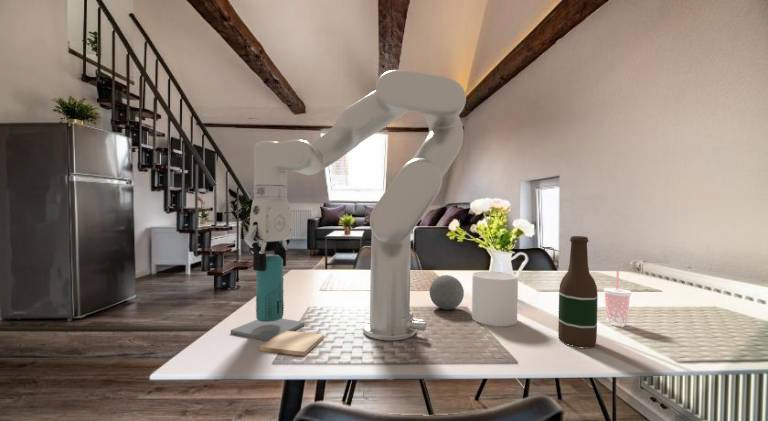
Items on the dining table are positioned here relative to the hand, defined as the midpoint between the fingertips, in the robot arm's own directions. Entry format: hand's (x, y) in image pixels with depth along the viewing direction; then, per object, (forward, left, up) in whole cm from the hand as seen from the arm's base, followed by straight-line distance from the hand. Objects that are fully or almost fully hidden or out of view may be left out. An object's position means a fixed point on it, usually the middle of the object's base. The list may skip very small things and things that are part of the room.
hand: (270, 267), depth 86 cm
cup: (-49, -32, -15) cm, 60 cm away
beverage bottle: (0, 0, -14) cm, 14 cm away
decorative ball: (-35, -36, -15) cm, 52 cm away
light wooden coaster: (-11, +5, -15) cm, 19 cm away
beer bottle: (-68, -23, -15) cm, 73 cm away
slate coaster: (0, 0, -15) cm, 15 cm away
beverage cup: (-79, -42, -15) cm, 91 cm away
